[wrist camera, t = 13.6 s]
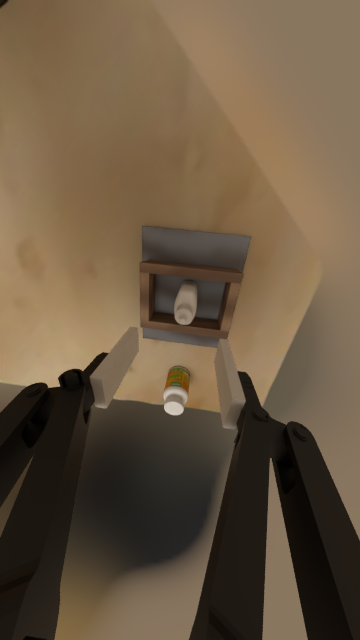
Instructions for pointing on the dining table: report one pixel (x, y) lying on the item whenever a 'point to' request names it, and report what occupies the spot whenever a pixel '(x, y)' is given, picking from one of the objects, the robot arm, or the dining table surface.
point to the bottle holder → (193, 265)
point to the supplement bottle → (176, 390)
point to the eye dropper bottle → (186, 303)
